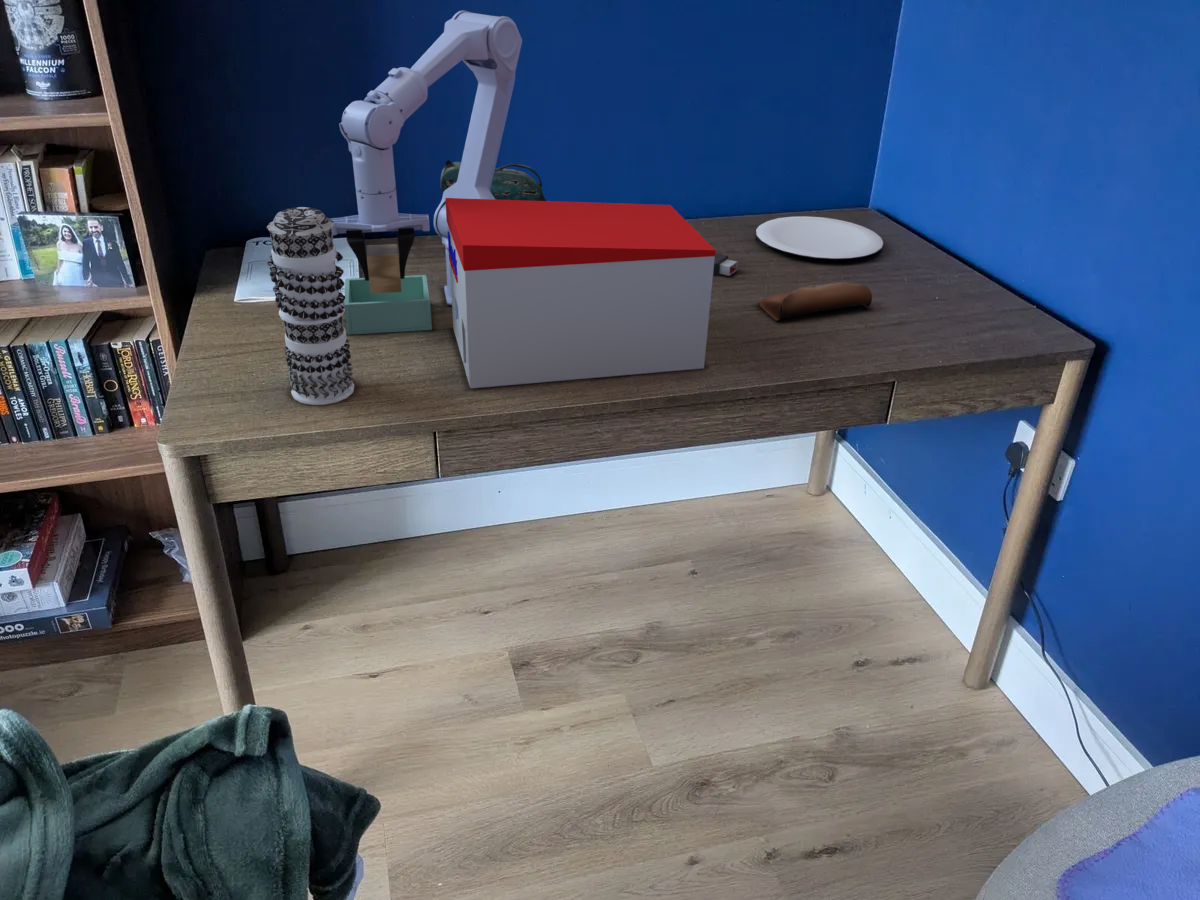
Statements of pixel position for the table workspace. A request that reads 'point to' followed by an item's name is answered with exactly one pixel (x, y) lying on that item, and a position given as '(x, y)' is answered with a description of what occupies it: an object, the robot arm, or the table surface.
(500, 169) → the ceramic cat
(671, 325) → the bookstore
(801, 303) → the sunglasses case
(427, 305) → the desk bin
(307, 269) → the decorative candle
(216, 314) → the table surface
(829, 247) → the plate
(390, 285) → the beech block
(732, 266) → the usb drive
